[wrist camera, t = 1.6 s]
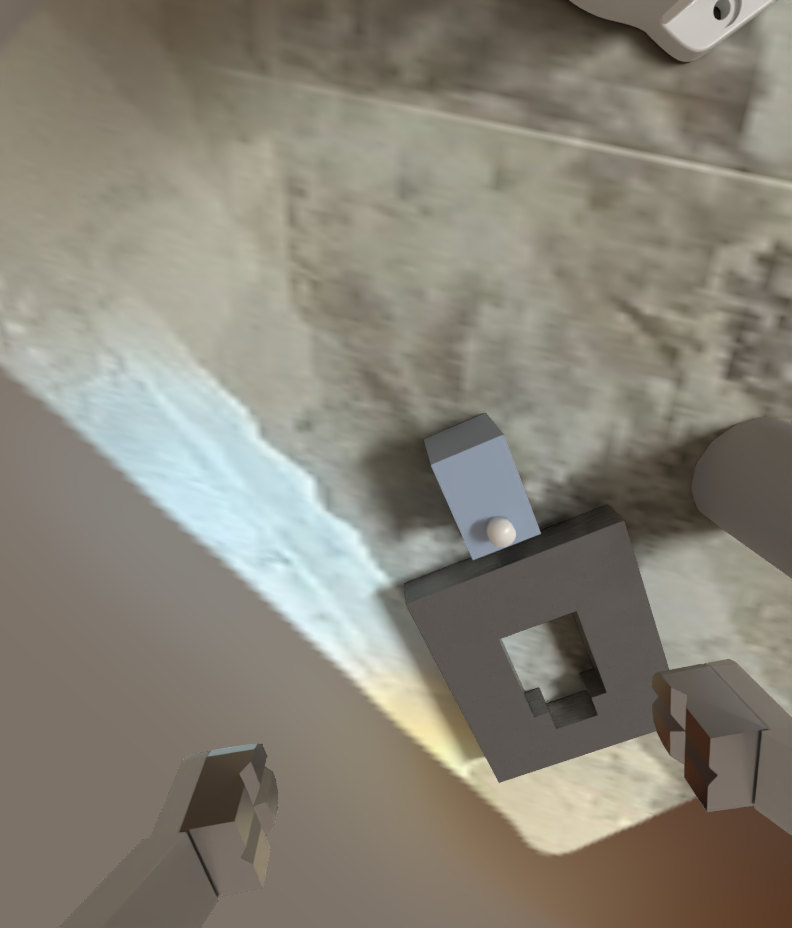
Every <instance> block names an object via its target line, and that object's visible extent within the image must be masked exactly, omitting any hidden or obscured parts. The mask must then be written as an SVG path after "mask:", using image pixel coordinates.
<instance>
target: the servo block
mask: <svg viewBox="0 0 792 928" xmlns="http://www.w3.org/2000/svg"><path fill="white" fill-rule="evenodd" d="M424 442H425V446H426V450H427V453H428V457H429V461H430V464H431V467H432V469H433V471H434V474H435V476H436V478H437V480H438V483H439V485H440V487H441V489H442V492H443V494H444V496H445V498H446V501H447V503H448V505H449V507H450V510H451V512H452V514H453V516H454V519H455V521H456V523H457V525H458V528H459V530H460V532H461V534H462V537H463V539H464V541H465V544H466V546H467V548H468V550H469V553H470V555H471V557H472V559H473V560H475V559H477V558H480V557H483V556H485V555H488V554H490V553H493V552H495V551H498V550H501V549H503V548H506V547H508V546H511V545H513V544H516V543H519V542H521V541H524V540H526V539H529V538H531V537H534V536H537V535H539V534H541V532H540V530H539V527H538V524H537V522H536V519H535V516H534V514H533V511H532V508H531V506H530V503H529V500H528V498H527V495H526V492H525V490H524V487H523V484H522V482H521V479H520V476H519V474H518V471H517V468H516V466H515V463H514V460H513V458H512V455H511V452H510V450H509V447H508V444H507V442H506V439H505V436H504V434H503V433H502V432H501V430H500V429H499V428H498V427H497V426H496V424H495V423H494V422H493V421H492V420H491V418H490V417H489V416H488V415H487V414H486V413H484V414H482V415H479V416H477V417H475V418H472V419H470V420H468V421H465V422H463V423H461V424H458V425H456V426H454V427H451V428H449V429H446V430H444V431H442V432H439V433H437V434H435V435H432V436H430V437H428V438H425V439H424Z"/></svg>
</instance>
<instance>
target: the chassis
mask: <svg viewBox="0 0 792 928" xmlns="http://www.w3.org/2000/svg"><path fill="white" fill-rule="evenodd" d="M540 532H541V534H539V535H537V536H534V537H531V538H529V539H526V540H524V541H521V542H519V543H516V544H513V545H511V546H508V547H506V548H503V549H501V550H498V551H495V552H493V553H490V554H488V555H485V556H483V557H480V558H477V559H475V560H473V559H472V558H469V559H467V560H464V561H461V562H459V563H456V564H454V565H451V566H449V567H446V568H444V569H441V570H438V571H436V572H433V573H431V574H428V575H426V576H423V577H420V578H418V579H415V580H413V581H410V582H408V583H405V584H404V587H405V599H406V605H407V607H408V609H409V611H410V613H411V615H412V617H413V619H414V621H415V623H416V625H417V627H418V628H419V630H420V632H421V634H422V636H423V638H424V640H425V642H426V644H427V646H428V648H429V650H430V651H431V653H432V655H433V657H434V659H435V661H436V663H437V665H438V667H439V669H440V671H441V673H442V674H443V676H444V678H445V680H446V682H447V684H448V686H449V688H450V690H451V692H452V694H453V696H454V697H455V699H456V701H457V703H458V705H459V707H460V709H461V711H462V713H463V715H464V717H465V719H466V720H467V722H468V724H469V726H470V728H471V730H472V732H473V734H474V736H475V738H476V740H477V741H478V743H479V745H480V747H481V749H482V751H483V753H484V755H485V757H486V759H487V761H488V763H489V764H490V766H491V768H492V770H493V772H494V774H495V776H496V778H497V780H498V782H499V783H500V782H503V781H506V780H509V779H512V778H515V777H518V776H521V775H524V774H527V773H530V772H533V771H536V770H539V769H542V768H545V767H548V766H551V765H554V764H558V763H561V762H564V761H567V760H570V759H573V758H576V757H579V756H582V755H585V754H588V753H591V752H594V751H597V750H600V749H603V748H606V747H609V746H612V745H615V744H618V743H621V742H624V741H627V740H630V739H633V738H636V737H639V736H643V735H646V734H649V733H652V732H655V731H656V727H655V724H654V720H653V713H652V704H653V703H654V702H655V700H656V699H657V698H658V695H657V694H656V693H655V691H654V690H653V688H652V677H653V675H654V673H656V672H661V671H666V670H669V668H668V664H667V661H666V658H665V654H664V651H663V648H662V644H661V641H660V638H659V634H658V631H657V628H656V624H655V621H654V618H653V614H652V611H651V608H650V604H649V601H648V598H647V594H646V591H645V588H644V584H643V581H642V578H641V574H640V571H639V568H638V564H637V561H636V558H635V554H634V551H633V548H632V544H631V541H630V538H629V534H628V531H627V528H626V524H625V521H624V520H623V519H622V518H621V517H620V516H619V515H618V514H617V513H616V512H615V511H614V510H613V509H612V508H611V507H610V506H609V505H605V506H603V507H600V508H597V509H595V510H592V511H590V512H587V513H585V514H582V515H579V516H577V517H574V518H572V519H569V520H567V521H564V522H562V523H559V524H556V525H554V526H551V527H549V528H546V529H544V530H541V531H540ZM572 612H573V615H574V617H575V620H576V623H577V625H578V628H579V631H580V634H581V636H582V639H583V642H584V644H585V647H586V650H587V652H588V655H589V658H590V660H591V663H592V666H593V668H594V669H591V670H588V671H586V672H583V673H580V674H579V675H580V677H581V680H582V682H583V685H584V687H585V690H586V691H583V692H580V693H577V694H574V695H571V696H568V697H565V698H562V699H560V700H557V701H554V702H551V703H548V704H546V702H545V700H544V697H543V695H542V693H541V690H540V688H537V689H534V690H531V691H528V692H526V693H525V691H524V689H523V686H522V684H521V682H520V680H519V677H518V675H517V673H516V671H515V669H514V666H513V664H512V662H511V660H510V657H509V655H508V653H507V651H506V649H505V646H504V644H503V642H502V640H501V638H504V637H507V636H509V635H512V634H515V633H518V632H520V631H523V630H526V629H529V628H531V627H534V626H537V625H540V624H542V623H545V622H548V621H550V620H553V619H556V618H559V617H561V616H564V615H567V614H570V613H572Z"/></svg>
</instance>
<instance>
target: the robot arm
mask: <svg viewBox="0 0 792 928" xmlns="http://www.w3.org/2000/svg"><path fill="white" fill-rule="evenodd" d="M569 1H571V2H572V3H574V4H575V5H577V6H578V7H580V8H581V9H583V10H585V11H587V12H589V13H591V14H593V15H596V16H598V17H601V18H604V19H607V20H612V21H616V22H620V23H624V24H628V25H631V26H634V27H637V28H639V29H641V30H643V31H645V32H646V33H647V34H648V35H649V36H650V37H651V38H652V39H653V40H654V41H655V42H656V43H657V44H658V45H659V46H660V47H661V48H662V49H663V50H664V51H666V52H667V53H668V54H669V55H671V56H672V57H674V58H675V59H677V60H679V61H683V62H691V61H694V60H697V59H698V58H700V57H702V56H703V55H705V54H706V53H707V52H709V51H710V50H711V49H713V48H714V47H715V46H717V45H718V44H719V43H721V42H722V41H723V40H725V39H726V38H728V37H729V36H730V35H732V34H733V33H734V32H736V31H737V30H738V29H740V28H741V27H742V26H744V25H745V24H746V23H748V22H749V21H750V20H752V19H753V18H754V17H756V16H757V15H758V14H760V13H761V12H763V11H764V10H765V9H767V8H768V7H769V6H771V5H772V4H773V3H775V2H776V1H777V0H569ZM714 6H716V7H718V8H719V9H720V11H721V19H720V20H717V19H716V18H715V17H714V14H713V9H714ZM652 688H653V690H654V691H655V693H656V694H657V695H658V698H657V699H656V700H655V702H654V703H653V704H652V713H653V720H654V724H655V727H656V731H657V733H658V735H659V738H660V740H661V742H662V744H663V745H664V747H665V749H666V750H667V752H668V753H669V755H670V756H671V757H673V758H674V759H676V760H678V761H679V762H681V763H682V764H684V778H685V779H686V781H687V783H688V784H689V786H690V787H691V789H692V790H693V792H694V793H695V795H696V796H697V798H698V799H699V801H700V802H701V804H702V805H703V807H704V808H705V810H706V811H707V812H711V811H718V810H725V809H733V808H740V807H746V806H754V805H755V807H754V808H755V809H756V810H757V811H759V812H760V813H762V814H763V815H764V816H766V817H767V818H768V819H770V820H771V821H773V822H774V823H775V824H777V825H778V826H779V827H781V828H782V829H784V830H785V831H786V832H788V833H789V834H790V835H792V717H791V716H790V715H789V714H788V713H787V712H786V711H785V710H784V709H783V708H782V707H781V706H780V705H779V704H778V703H777V702H776V701H775V700H774V699H773V698H772V697H771V696H770V695H769V694H768V693H767V692H766V691H765V690H764V689H763V688H762V687H761V686H760V685H758V684H757V683H756V682H755V681H754V680H753V679H752V678H751V677H750V676H749V675H748V674H747V673H746V672H745V671H744V670H743V669H742V668H741V667H740V666H739V665H738V664H737V663H736V662H734V661H732V660H730V659H726V660H721V661H715V662H710V663H704V664H698V665H693V666H687V667H682V668H677V669H672V670H666V671H661V672H656V673H654V675H653V677H652ZM266 758H267V754H266V752H265V749H264V747H263V744H251V745H244V746H238V747H231V748H224V749H217V750H212V751H206V752H200V753H193V754H188V755H187V756H186V758H185V759H184V760H183V761H182V762H181V765H180V767H179V769H178V772H177V774H176V777H175V779H174V781H173V784H172V786H171V789H170V791H169V793H168V796H167V799H166V801H165V803H164V805H163V808H162V810H161V812H160V815H159V817H158V820H157V822H156V824H155V827H154V829H153V832H152V834H151V836H150V838H146V839H142V840H141V841H140V843H138V844H137V845H136V847H134V849H133V850H132V851H131V852H130V853H129V854H128V855H127V856H126V857H125V858H124V859H123V860H122V861H121V862H120V863H119V864H118V865H117V866H116V867H115V868H114V870H113V871H112V872H111V873H110V874H109V875H108V876H107V877H106V878H105V879H104V880H103V881H102V882H101V883H100V884H99V885H98V887H96V888H95V889H94V891H93V892H92V893H91V894H90V895H89V896H88V897H87V898H86V899H85V900H84V901H83V902H82V903H81V904H80V905H79V906H78V908H76V909H75V911H74V912H73V913H72V914H71V915H70V916H69V917H68V918H67V919H66V920H65V921H64V922H63V923H62V924H61V925H60V926H59V927H58V928H201V927H202V925H203V924H204V923H205V921H206V920H207V918H208V916H209V915H210V913H211V912H212V910H213V909H214V907H215V905H216V904H217V902H218V897H223V896H228V895H233V894H238V893H243V892H248V891H252V890H257V889H262V888H263V885H264V879H265V874H266V869H267V864H268V858H269V853H270V847H269V844H268V842H267V839H266V836H267V835H268V833H269V832H270V831H271V829H272V828H273V827H274V825H275V820H276V815H277V809H278V806H277V805H278V790H277V785H276V779H275V776H274V773H273V771H271V770H270V769H268V768H267V767H265V763H266Z"/></svg>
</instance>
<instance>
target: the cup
mask: <svg viewBox="0 0 792 928" xmlns="http://www.w3.org/2000/svg"><path fill="white" fill-rule="evenodd" d="M691 491H692V494H693V497H694V500H695V503H696V506H697V509H698V510H699V511H700V512H701V513H702V514H703V515H705V516H706V517H707V518H708V519H710V520H711V521H712V522H713V523H715V524H716V525H717V526H719V527H720V528H722V529H723V530H724V531H726V532H727V533H729V534H730V535H731V536H733V537H734V538H736V539H737V540H738V541H740V542H741V543H743V544H744V545H745V546H747V547H748V548H750V549H751V550H752V551H754V552H755V553H757V554H758V555H759V556H761V557H762V558H764V559H765V560H766V561H768V562H769V563H771V564H772V565H773V566H775V567H776V568H778V569H779V570H780V571H782V572H783V573H785V574H786V575H788V576H789V577H790V578H792V422H788V421H783V420H778V419H773V418H768V417H762V418H758V419H754V420H750V421H746V422H742V423H738V424H736V425H734V426H733V427H731V428H730V429H729V430H727V431H726V432H724V433H723V434H721V435H720V436H718V437H717V438H716V439H714V440H713V441H712V442H711V443H710V445H709V446H708V447H707V449H706V450H705V452H704V453H703V455H702V456H701V458H700V459H699V460H698V462H697V463H696V466H695V471H694V476H693V481H692V486H691Z"/></svg>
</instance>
